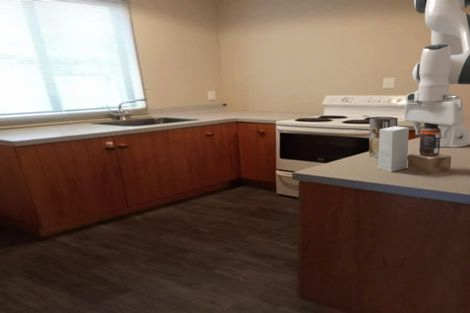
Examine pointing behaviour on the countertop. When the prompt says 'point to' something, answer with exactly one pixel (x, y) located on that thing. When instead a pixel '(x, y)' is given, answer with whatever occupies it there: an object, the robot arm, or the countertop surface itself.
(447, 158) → the walnut base
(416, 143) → the countertop surface
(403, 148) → the skincare box
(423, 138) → the supplement bottle
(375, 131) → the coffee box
